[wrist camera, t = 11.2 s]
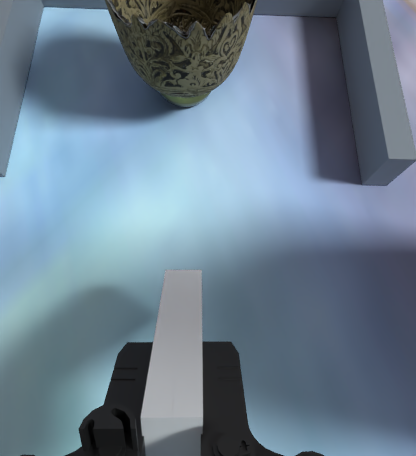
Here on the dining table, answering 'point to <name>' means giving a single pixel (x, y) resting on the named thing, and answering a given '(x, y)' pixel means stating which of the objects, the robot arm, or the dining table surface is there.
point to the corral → (266, 5)
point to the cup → (182, 43)
